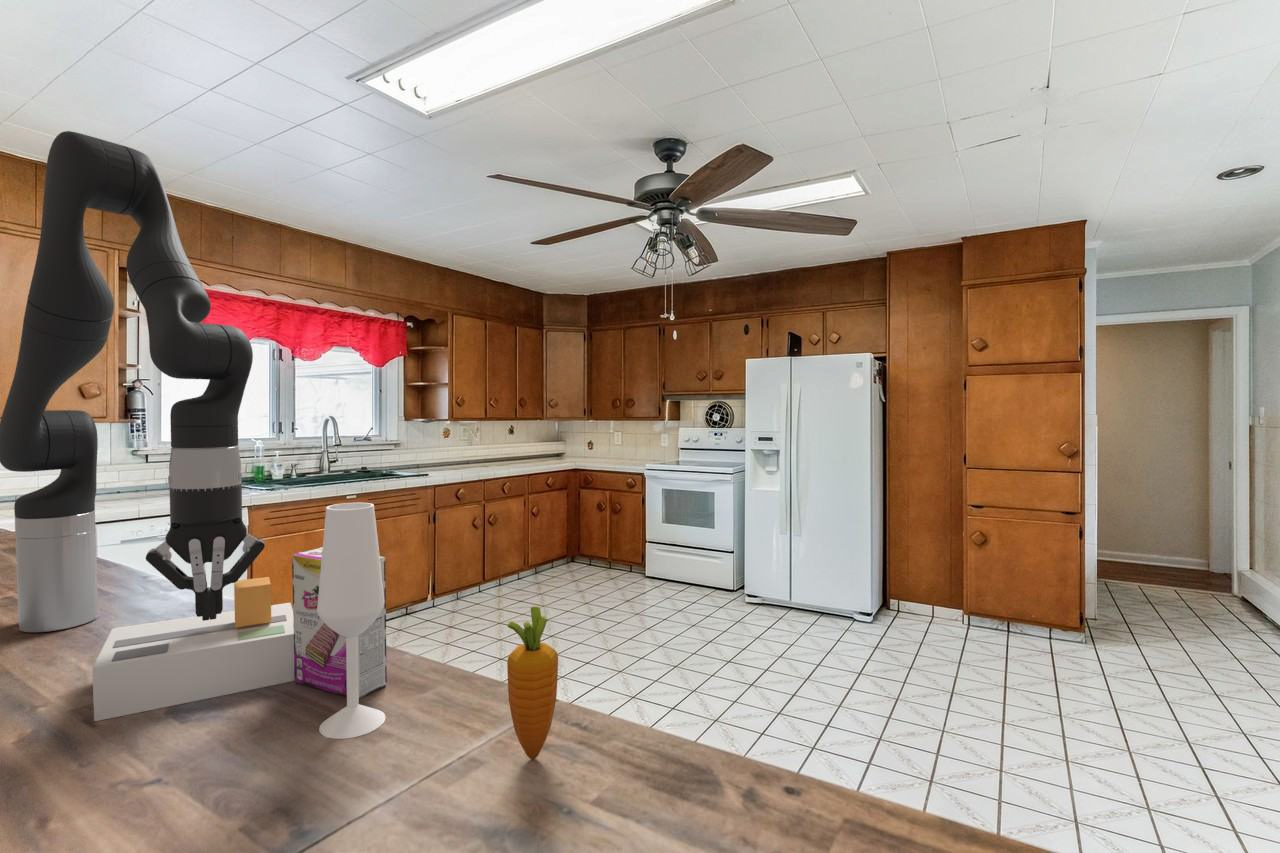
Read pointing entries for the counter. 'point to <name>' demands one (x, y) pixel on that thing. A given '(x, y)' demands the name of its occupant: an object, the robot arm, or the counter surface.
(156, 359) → the robot arm
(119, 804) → the counter surface
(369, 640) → the candy bar box
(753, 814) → the counter surface
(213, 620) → the switch box
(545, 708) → the carrot
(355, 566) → the champagne flute
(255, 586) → the block
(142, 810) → the counter surface
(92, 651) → the counter surface
